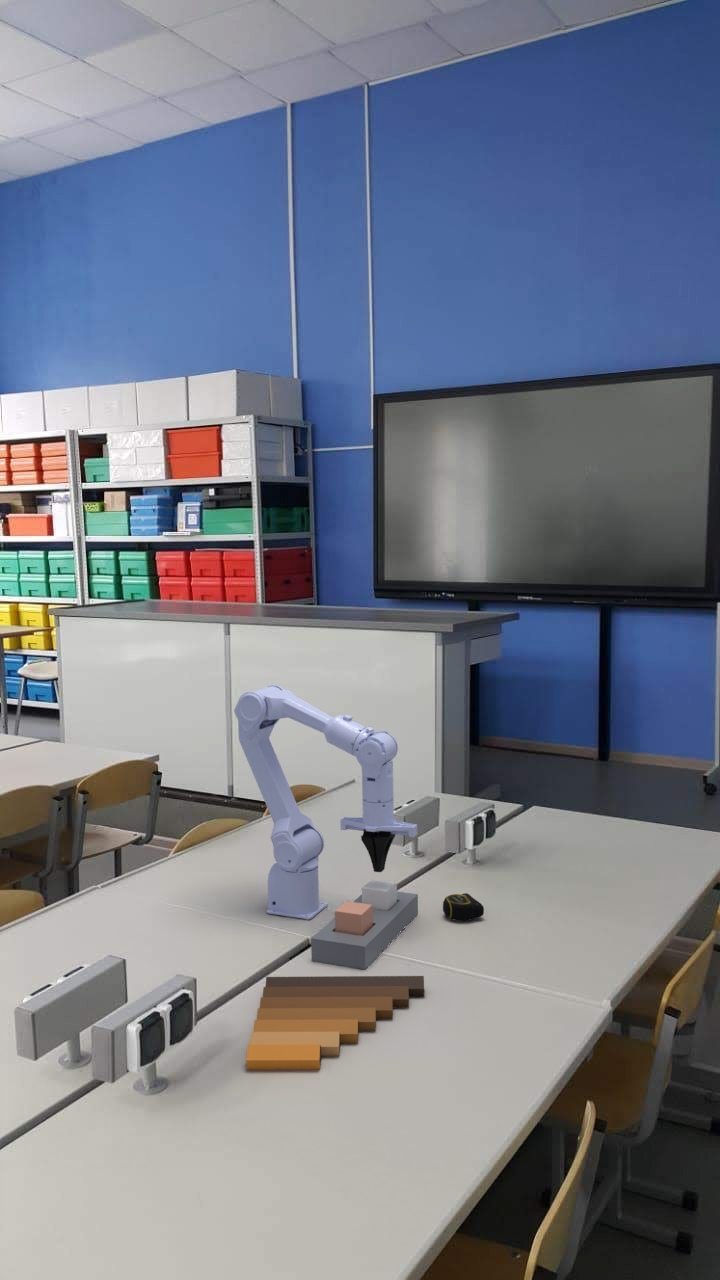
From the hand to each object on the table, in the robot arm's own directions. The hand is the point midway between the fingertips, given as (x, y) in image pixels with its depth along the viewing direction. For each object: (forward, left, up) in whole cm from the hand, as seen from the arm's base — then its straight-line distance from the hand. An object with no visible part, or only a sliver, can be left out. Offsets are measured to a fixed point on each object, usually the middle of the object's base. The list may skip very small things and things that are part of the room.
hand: (379, 870), depth 186 cm
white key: (0, 0, -7) cm, 7 cm away
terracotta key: (0, -12, -7) cm, 14 cm away
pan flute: (+9, -38, -11) cm, 41 cm away
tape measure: (+13, +9, -11) cm, 20 cm away
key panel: (0, -6, -10) cm, 12 cm away
